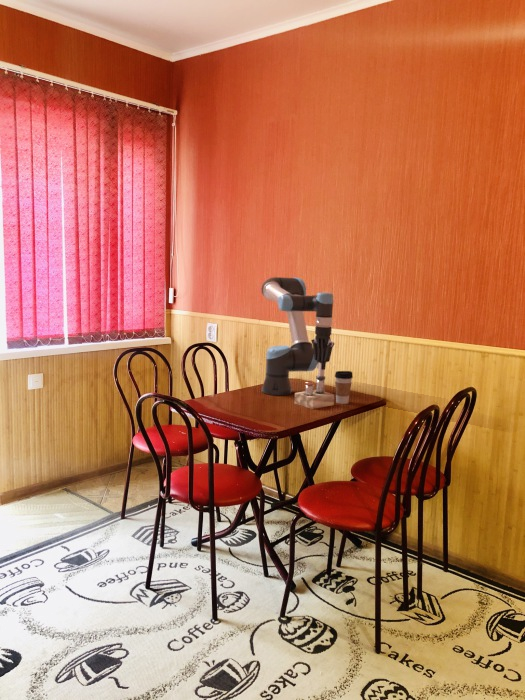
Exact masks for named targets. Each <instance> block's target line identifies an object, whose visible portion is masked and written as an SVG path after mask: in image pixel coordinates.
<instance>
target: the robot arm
mask: <svg viewBox="0 0 525 700" xmlns="http://www.w3.org/2000/svg"><path fill="white" fill-rule="evenodd" d="M260 288H261V289H260V290H261V293H262V296H264V297H265V298H266V299H268V300H271V301H272V300H273V301H274V302H275V303H276V304H277V305H278V309H279V310H280V312H281V311H282V312H286V316H287V320H288V328H289V332H290V338H291V339H290V340H291V345H275V346H271V347H269V348H268V349H267V350H266V357H265V360H266V363H265V378H264V382H263V384H262V386H261V392H262V394H266V395H271V396H287V395H291V394H292V390H293V389H292V386H291V382H290V378H289V377H290V372H313V371H315V369H317V376H320V377H321V376H325V370H326V365H327V364H326V363H329V362H330V359H331V355H332V351H333V348H334V346H335V342H333V341H332V340H331V335H332V328H333V327H332V326H333V312H334V311H333V310H334V309H333V308H334V307H333V306H334V294H333V293H332V292H317V293H316V294H315V295H314V294H313V295H307V291H306V290H307V286H306V284H305V281H304V280H303V279H302V278H301V277H279V276H278V277H277V276H275V277H274V276H273V277H270V278H268V279H266V280H265V281H264V282H263V283H262V286H261V287H260ZM304 312H315V329H314V330H315V331H314V333H315V338H313V339H311V342H310V340H309V336H308V330H307V326H306V320H305V319H306V318H305V314H304Z"/></svg>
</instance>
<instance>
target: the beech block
mask: <svg viewBox="0 0 525 700" xmlns="http://www.w3.org/2000/svg"><path fill="white" fill-rule="evenodd" d="M293 403H294V404H295V405H298V406H302V407H304V408H308V409H311V410H314V409H320V408H326V407H329V406H334V405H335V394H333V393H330V392H326V391H324V394H317V393H316V389H313V396H307V395H305V390H304V391H299V392H294V402H293Z"/></svg>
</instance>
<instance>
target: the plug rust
mask: <svg viewBox="0 0 525 700" xmlns="http://www.w3.org/2000/svg"><path fill="white" fill-rule="evenodd" d="M304 384H305V390H304V391H305V395H307V396H313V390H314V386H315V381H311V380H306V381H305V382H304Z"/></svg>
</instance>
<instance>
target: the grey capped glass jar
mask: <svg viewBox="0 0 525 700" xmlns="http://www.w3.org/2000/svg"><path fill="white" fill-rule="evenodd" d="M315 378H316V389H315V390H316V393H317V394H324V392H325V382H326V381H325V380H326V376H325V375H324V376H321V377H320V376H318V375H316V376H315Z"/></svg>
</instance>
